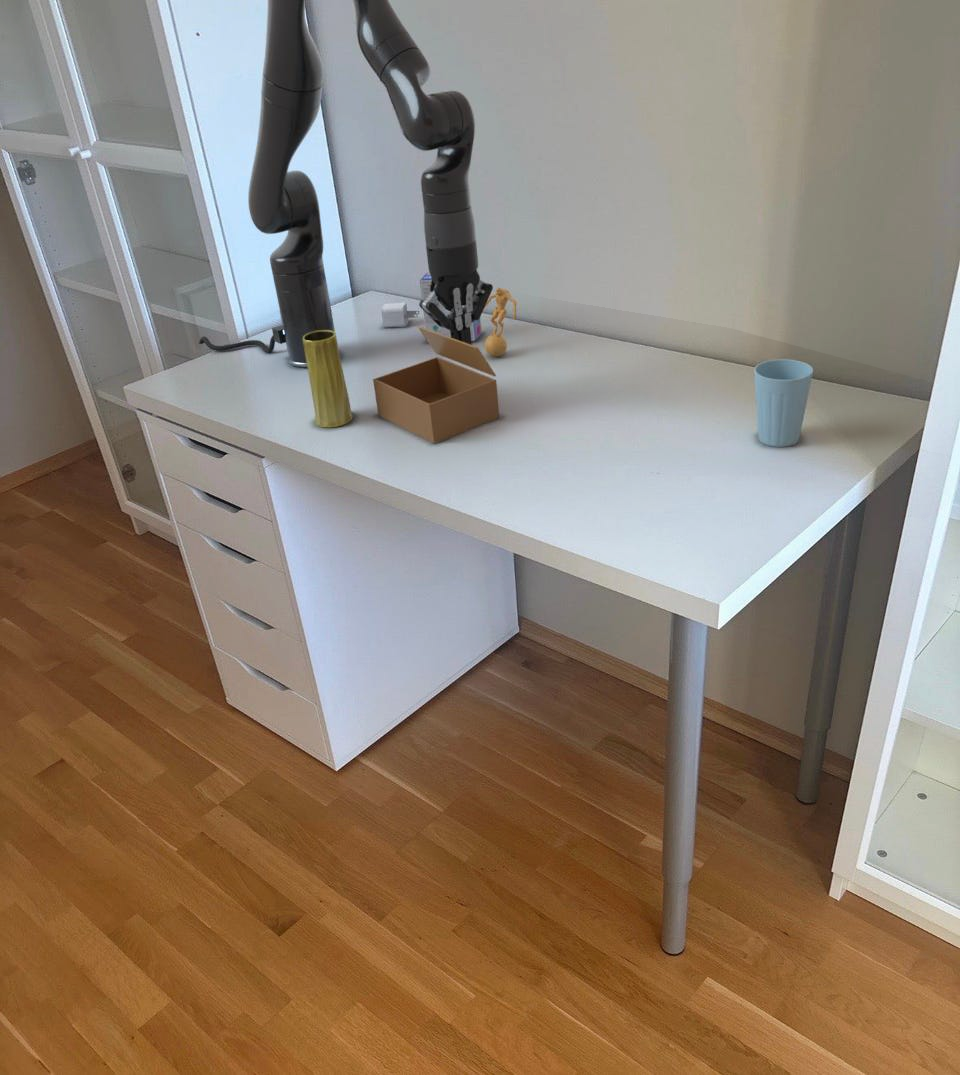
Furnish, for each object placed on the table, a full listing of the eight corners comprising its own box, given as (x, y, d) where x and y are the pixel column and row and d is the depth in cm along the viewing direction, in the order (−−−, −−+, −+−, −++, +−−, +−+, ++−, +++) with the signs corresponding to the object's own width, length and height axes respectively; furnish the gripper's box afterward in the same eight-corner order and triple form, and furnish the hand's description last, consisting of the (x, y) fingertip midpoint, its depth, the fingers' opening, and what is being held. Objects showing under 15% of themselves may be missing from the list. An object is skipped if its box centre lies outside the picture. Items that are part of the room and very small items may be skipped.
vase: (322, 431, 156) (306, 345, 149) (310, 418, 161) (294, 334, 154) (358, 421, 158) (344, 335, 151) (345, 409, 163) (331, 325, 156)
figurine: (472, 355, 180) (466, 290, 174) (495, 345, 183) (490, 281, 177) (505, 363, 175) (500, 297, 168) (528, 353, 178) (524, 287, 172)
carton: (378, 415, 160) (372, 379, 157) (441, 392, 166) (437, 356, 163) (434, 443, 149) (429, 405, 145) (499, 417, 155) (496, 379, 152)
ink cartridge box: (483, 332, 190) (476, 256, 183) (477, 342, 185) (469, 265, 178) (433, 333, 192) (424, 258, 185) (426, 343, 188) (416, 267, 180)
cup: (748, 449, 138) (752, 378, 133) (752, 426, 144) (756, 358, 139) (805, 452, 136) (811, 381, 130) (807, 428, 142) (813, 359, 136)
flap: (417, 327, 158) (418, 325, 158) (436, 353, 162) (437, 352, 162) (476, 348, 147) (477, 347, 147) (494, 376, 151) (496, 375, 151)
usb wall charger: (387, 322, 201) (385, 302, 199) (421, 320, 200) (418, 301, 198) (383, 328, 197) (381, 309, 195) (418, 327, 196) (415, 307, 194)
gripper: (470, 226, 153) (480, 334, 161) (399, 245, 146) (414, 357, 155) (501, 232, 147) (509, 344, 156) (429, 253, 141) (442, 368, 150)
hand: (462, 350), depth 156 cm, fingers closed
